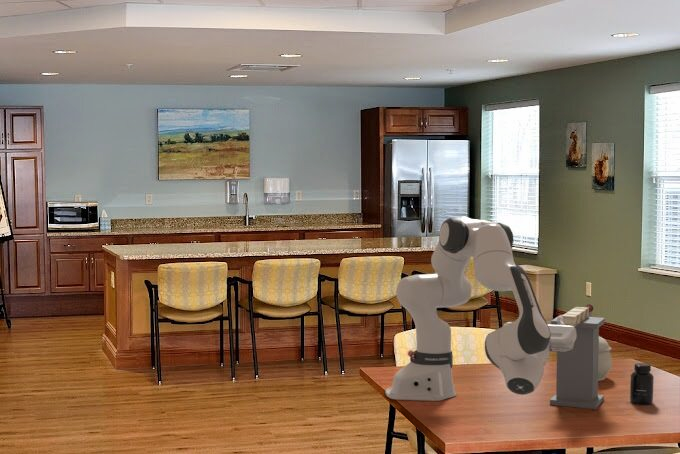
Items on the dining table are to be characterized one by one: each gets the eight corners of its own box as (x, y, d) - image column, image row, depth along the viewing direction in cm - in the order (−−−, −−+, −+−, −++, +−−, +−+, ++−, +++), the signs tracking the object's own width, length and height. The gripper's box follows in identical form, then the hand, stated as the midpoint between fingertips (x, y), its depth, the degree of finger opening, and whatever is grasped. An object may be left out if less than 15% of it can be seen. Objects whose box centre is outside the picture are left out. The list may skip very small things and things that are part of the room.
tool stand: (596, 409, 297) (597, 323, 296) (549, 404, 303) (551, 320, 302) (603, 400, 309) (605, 317, 307) (559, 395, 315) (560, 315, 313)
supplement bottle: (637, 405, 302) (638, 367, 301) (625, 400, 308) (626, 362, 308) (657, 404, 304) (658, 365, 303) (645, 399, 310) (645, 361, 309)
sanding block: (574, 326, 290) (575, 316, 290) (561, 325, 292) (561, 315, 292) (588, 317, 309) (588, 307, 309) (575, 316, 311) (575, 306, 311)
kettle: (605, 386, 328) (606, 312, 327) (550, 381, 336) (551, 309, 335) (618, 372, 351) (620, 303, 349) (567, 368, 359) (568, 300, 357)
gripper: (570, 342, 263) (580, 311, 274) (496, 337, 272) (508, 307, 282) (572, 360, 266) (582, 329, 277) (499, 355, 275) (511, 324, 285)
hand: (544, 318), depth 280 cm, fingers open, 8 cm apart
